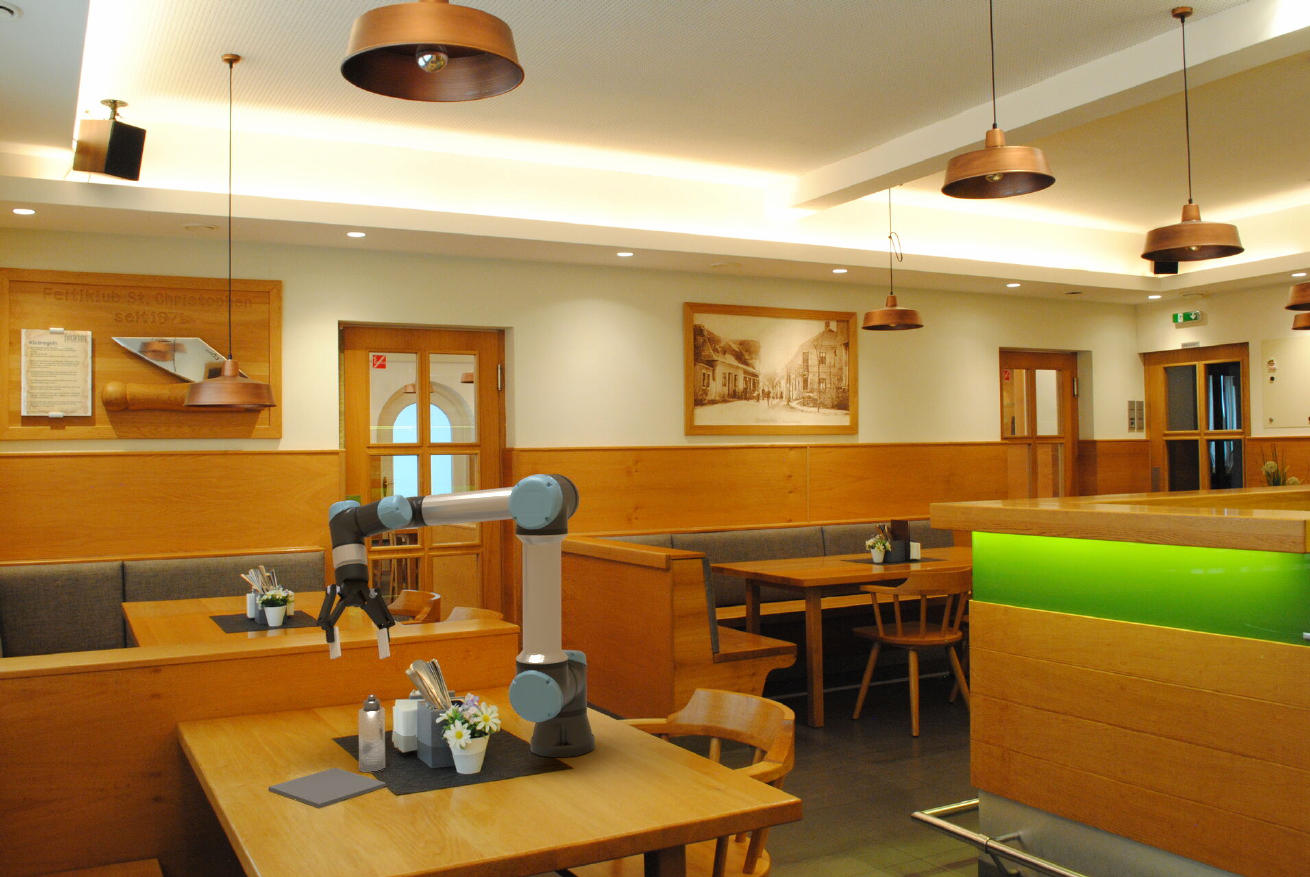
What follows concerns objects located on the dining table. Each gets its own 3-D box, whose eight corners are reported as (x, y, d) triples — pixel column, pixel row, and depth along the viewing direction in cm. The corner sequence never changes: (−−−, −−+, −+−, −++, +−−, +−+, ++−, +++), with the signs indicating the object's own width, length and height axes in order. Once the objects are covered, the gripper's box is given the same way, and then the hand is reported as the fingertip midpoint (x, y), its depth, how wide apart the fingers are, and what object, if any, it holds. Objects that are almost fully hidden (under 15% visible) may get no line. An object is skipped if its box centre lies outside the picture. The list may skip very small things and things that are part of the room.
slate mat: (386, 786, 210) (386, 782, 210) (319, 808, 197) (319, 803, 197) (335, 771, 221) (335, 767, 221) (268, 790, 208) (268, 786, 208)
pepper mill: (390, 767, 223) (389, 693, 223) (369, 774, 218) (368, 698, 219) (374, 763, 226) (374, 690, 227) (353, 769, 222) (353, 695, 222)
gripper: (382, 575, 244) (393, 661, 236) (294, 568, 224) (303, 662, 216) (403, 565, 240) (414, 653, 233) (315, 557, 220) (324, 652, 213)
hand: (361, 657), depth 224 cm, fingers open, 13 cm apart
